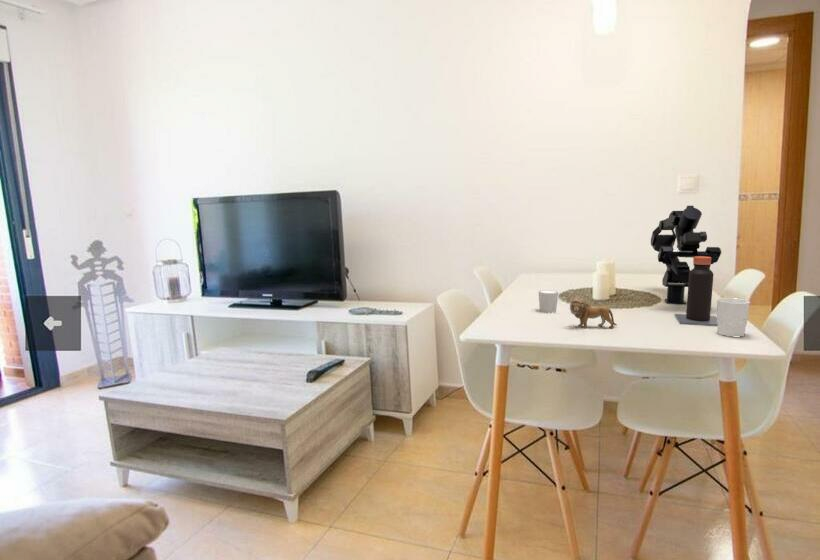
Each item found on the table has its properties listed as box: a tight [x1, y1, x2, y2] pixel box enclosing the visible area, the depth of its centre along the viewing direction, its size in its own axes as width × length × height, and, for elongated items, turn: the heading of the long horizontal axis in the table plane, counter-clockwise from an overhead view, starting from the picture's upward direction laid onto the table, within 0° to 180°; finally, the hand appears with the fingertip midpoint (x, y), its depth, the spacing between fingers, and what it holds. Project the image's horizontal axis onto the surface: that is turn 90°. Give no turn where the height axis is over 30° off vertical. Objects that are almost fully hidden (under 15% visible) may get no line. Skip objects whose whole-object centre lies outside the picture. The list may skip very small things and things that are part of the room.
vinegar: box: [685, 256, 714, 321], centre depth 162 cm, size 7×7×20 cm
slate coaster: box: [674, 313, 718, 327], centre depth 163 cm, size 12×12×1 cm
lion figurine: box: [569, 298, 618, 330], centre depth 157 cm, size 15×5×9 cm, turn 90°
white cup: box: [716, 297, 751, 337], centre depth 146 cm, size 8×8×10 cm
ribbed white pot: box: [538, 289, 559, 314], centre depth 181 cm, size 7×7×7 cm
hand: (692, 274), depth 171 cm, fingers open, 9 cm apart
